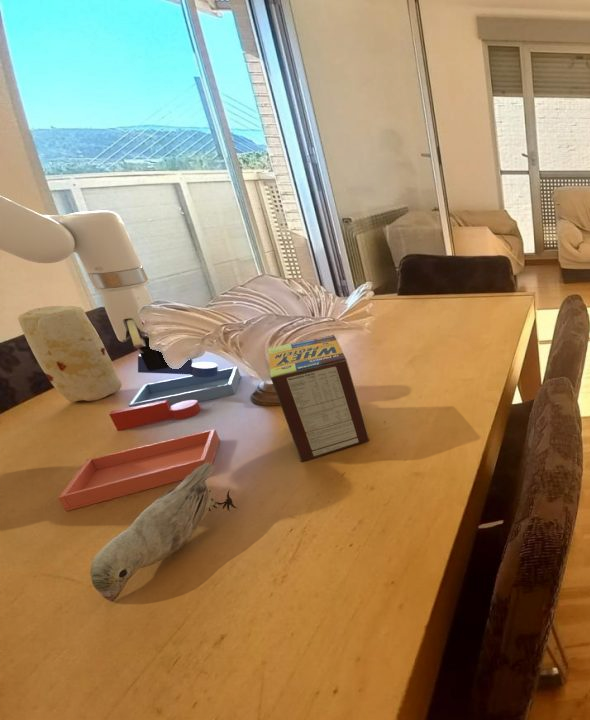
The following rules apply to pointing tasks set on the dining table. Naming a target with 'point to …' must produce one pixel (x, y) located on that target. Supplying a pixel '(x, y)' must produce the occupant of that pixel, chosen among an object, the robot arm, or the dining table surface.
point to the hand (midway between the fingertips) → (160, 366)
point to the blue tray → (189, 388)
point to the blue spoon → (184, 368)
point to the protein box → (317, 396)
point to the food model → (70, 352)
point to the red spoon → (153, 413)
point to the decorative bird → (154, 533)
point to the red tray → (139, 469)
